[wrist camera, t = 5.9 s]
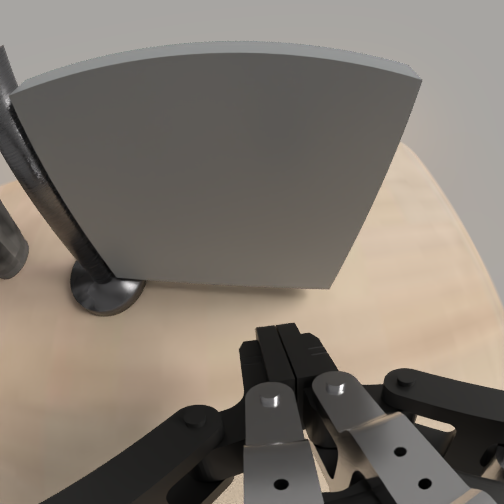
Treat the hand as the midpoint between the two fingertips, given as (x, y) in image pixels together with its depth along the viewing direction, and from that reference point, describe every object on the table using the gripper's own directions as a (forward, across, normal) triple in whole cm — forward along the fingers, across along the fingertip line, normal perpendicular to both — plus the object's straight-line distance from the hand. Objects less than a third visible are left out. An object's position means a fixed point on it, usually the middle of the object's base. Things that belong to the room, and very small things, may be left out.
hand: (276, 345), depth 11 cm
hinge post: (+10, -10, 0) cm, 15 cm away
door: (+9, -2, +1) cm, 9 cm away
